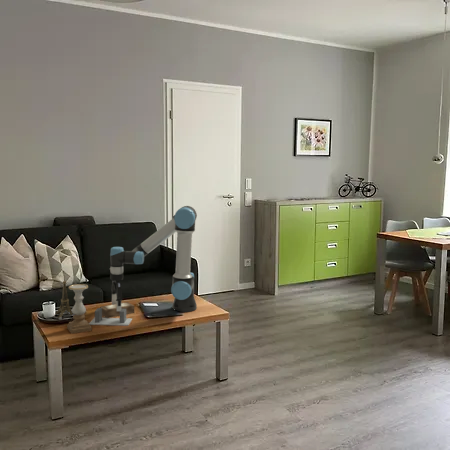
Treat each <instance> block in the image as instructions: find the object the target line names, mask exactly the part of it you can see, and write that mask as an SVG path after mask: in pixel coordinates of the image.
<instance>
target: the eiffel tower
mask: <svg viewBox="0 0 450 450" xmlns="http://www.w3.org/2000/svg"><path fill="white" fill-rule="evenodd" d="M61 283H62V296H61V299H60V305H59V307H58V309H57V310H56V312H55V314H60V315H59V316H58V318H59V317H62V316H64V313H65V312H67V313H68V312H70V314H69V315H70V316H71V315H72V314H73V313H72V307H71V306H70V303H69V302H70V299H69V298H68V297H69V295H68V291H67V285H66V284H68V283H67V281H66V278H65V276H64V277H63V281H62V282H61Z"/></svg>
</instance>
